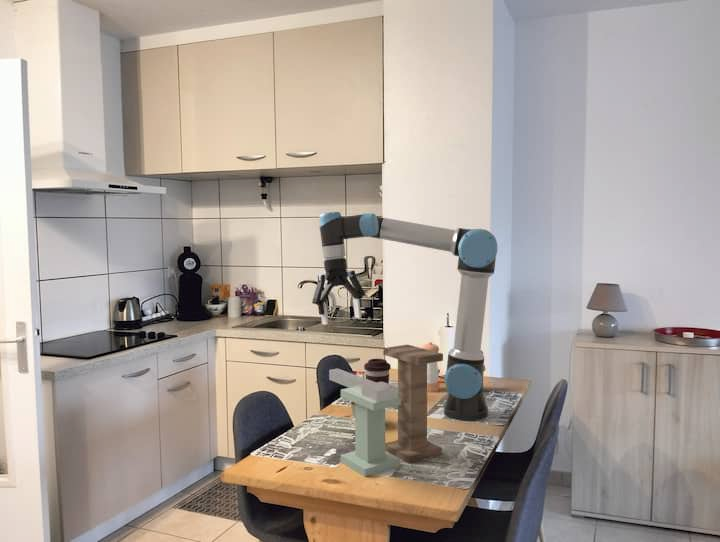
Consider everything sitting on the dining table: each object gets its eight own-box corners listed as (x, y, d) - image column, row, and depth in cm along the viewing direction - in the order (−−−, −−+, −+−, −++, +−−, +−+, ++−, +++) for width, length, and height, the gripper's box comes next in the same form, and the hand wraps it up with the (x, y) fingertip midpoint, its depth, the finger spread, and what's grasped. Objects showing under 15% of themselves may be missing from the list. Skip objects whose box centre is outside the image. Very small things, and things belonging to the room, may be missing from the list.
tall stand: (379, 448, 180) (379, 348, 178) (411, 439, 187) (411, 343, 184) (413, 466, 167) (413, 358, 164) (446, 456, 174) (446, 353, 171)
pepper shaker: (425, 392, 238) (425, 344, 237) (418, 387, 245) (418, 341, 244) (442, 391, 240) (442, 343, 239) (435, 386, 247) (435, 340, 246)
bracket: (323, 380, 181) (323, 370, 180) (343, 377, 184) (343, 367, 184) (376, 402, 158) (376, 391, 158) (397, 398, 162) (397, 387, 162)
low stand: (336, 459, 172) (336, 390, 170) (371, 450, 178) (371, 383, 177) (369, 479, 158) (368, 404, 157) (405, 468, 165) (405, 396, 164)
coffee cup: (389, 403, 224) (389, 363, 223) (362, 402, 226) (362, 363, 224) (391, 396, 234) (391, 357, 233) (366, 395, 235) (366, 357, 234)
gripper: (357, 255, 214) (364, 315, 215) (297, 262, 199) (304, 326, 200) (370, 254, 208) (377, 315, 209) (309, 261, 193) (317, 327, 194)
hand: (342, 321), depth 204 cm, fingers open, 13 cm apart
